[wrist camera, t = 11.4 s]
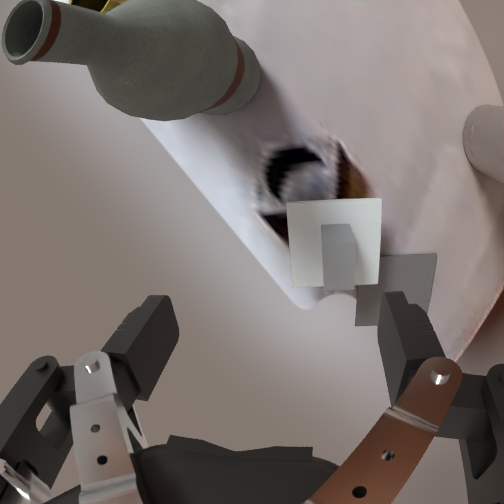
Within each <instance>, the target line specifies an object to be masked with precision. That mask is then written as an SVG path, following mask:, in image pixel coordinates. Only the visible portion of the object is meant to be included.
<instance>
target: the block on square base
mask: <svg viewBox="0 0 504 504" xmlns="http://www.w3.org/2000/svg"><path fill="white" fill-rule="evenodd" d="M286 210H287V222H288V234H289V247H290V260H291V274H292V288H293V287H322V286H324V291H336V290H354V286H355V285H367V284H378V274H379V259H380V239H381V198H363V199H335V200H313V201H293V202H286Z"/></svg>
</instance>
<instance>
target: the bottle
mask: <svg viewBox="0 0 504 504" xmlns="http://www.w3.org/2000/svg"><path fill="white" fill-rule="evenodd" d="M2 48H3V52H4V54H5V56H6V57H7V58H8V60H9V61H10V62H12V63H13V64H15V65H22V64H24V63H26V62H28V61H41V62H58V63H70V64H81V65H87V67H88V69H89V72H90V74H91V77H92V80H93V82H94V85H95V87H96V90H97V91H98V92H99V94H100V95H101V96H102V97H103V98H104V100H105V101H106V102H107V103H108V104H110V105H112V106H113V107H115V108H116V109H118V110H120V111H122V112H124V113H126V114H128V115H130V116H135V117H140V118H145V119H151V120H159V121H170V120H178V119H185V118H187V117H189V116H191V115H193V114H196V113H199V112H200V113H204V114H208V115H226V114H228V113H231V112H233V111H236V110H239V109H240V108H241V107H243V106H244V105H245V104H246V103H248V102H249V101H250V100H251V99H252V98H253V96H254V94H255V93H256V91H257V90H258V86H259V82H260V67H259V62H258V60H257V58H256V56H255V53H254V51H253V50H252V49H251V48H250V47H249V46H248V45H247V44H246V43H245V42H244V41H242V40H240V39H238V38H236V37H235V36H233V35H232V34H231V32H230V31H229V29H228V26H227V24H226V22H225V21H224V20H223V19H222V18H221V17H220V16H219V15H218V14H217V13H216V12H215V11H214V10H213V9H212V8H210V7H208V6H206V5H204V4H202V3H200V2H198V1H196V0H127V1H125V2H124V3H122V4H120V5H119V6H117V7H115V8H114V9H112V10H110V11H109V12H107V13H106V14H104V13H100V12H97V11H94V10H90V9H86V8H83V7H79V6H75V5H71V4H67V3H63V2H58V1H54V0H23V1H21V2H20V3H19V4H18V5H17V6H16V7H15V8H14V9H13V10H12V12H11V13H10V15H9V17H8V18H7V21H6V23H5V25H4V29H3V33H2Z"/></svg>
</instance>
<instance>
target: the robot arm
mask: <svg viewBox="0 0 504 504" xmlns="http://www.w3.org/2000/svg"><path fill="white" fill-rule="evenodd" d="M463 142H464V148H465V152H466V155H467V157H468V159H469V161H470V162H471V164H472V165H473V166H474V167H475V168H476V169H477V170H478V171H479V172H481V173H483V174H485V175H487V176H489V177H491V178H493V179H495V180H497V181H499V182H501V183H503V184H504V107H503V106H492V105H485V106H481V107H478V108H476V109H475V110H474V111H473V112H472V113H471V114H470V115H469V117H468V119H467V121H466V123H465V127H464V132H463ZM178 338H179V327H178V324H177V320H176V317H175V313H174V310H173V306H172V303H171V299H170V298H169V296H167V295H150V296H148V297H147V299H146V300H145V301H144V303H143V304H142V305H141V306H140V307H137V308H136V309H135V310H133V311H132V312H130V313H129V314H128V315H127V317H126V318H125V319H124V320H123V322H122V324H120V326H119V327H118V328H117V330H116V331H115V332H114V333H113V335H112V336H111V338H110V339H109V340H108V342H107V343H106V344H105V346H104V347H103V348H102V350H101V351H94V352H90V353H87V354H85V355H84V356H82V357H81V358H79V360H77V362H76V363H75V365H74V366H62V367H60V365H59V363H58V362H57V360H56V358H55V357H53V356H43V357H40V358H38V359H36V360H35V361H34V362H32V363H31V365H30V366H29V367H28V368H27V370H26V371H25V372H24V373H23V375H22V376H21V377H20V379H19V380H18V381H17V383H16V384H15V385H14V387H13V388H12V389H11V391H10V392H9V394H8V395H7V396H6V398H5V399H4V401H3V402H2V403H1V405H0V504H391V503H392V502H393V501H394V499H395V498H396V496H397V495H398V494H399V492H400V491H401V489H402V488H403V486H404V485H405V483H406V482H407V481H408V479H409V478H410V476H411V474H412V473H413V471H414V470H415V468H416V467H417V465H418V463H419V462H420V460H421V459H422V457H423V455H424V454H425V452H426V450H427V449H428V447H429V445H430V443H431V442H432V440H433V438H434V436H436V437H444V438H453V439H459V444H460V450H461V455H462V460H463V467H464V472H465V479H466V486H467V495H468V503H469V504H504V364H498V365H495V366H493V367H492V368H491V369H490V370H489V371H488V374H487V375H486V376H481V375H472V374H465V373H462V370H461V368H460V366H459V365H458V364H457V363H456V362H455V361H453V360H451V359H449V358H446V356H445V354H444V352H443V349H442V347H441V345H440V342H439V340H438V338H437V335H436V333H435V331H433V327H432V324H431V323H430V320H429V318H428V316H427V314H426V311H424V310H423V309H422V308H421V307H420V306H419V305H417V304H409V303H408V301H407V299H406V296H405V294H404V292H403V291H391V292H383V293H382V296H381V305H380V313H379V321H378V343H379V348H380V353H381V357H382V362H383V366H384V371H385V376H386V381H387V386H388V391H389V397H390V402H391V408H390V407H389V408H388V409H387V410H386V411H385V412H384V413H383V414H382V416H381V417H380V418H379V420H378V421H377V422H376V424H375V425H374V426H373V427H372V429H371V430H370V431H369V433H368V434H367V435H366V436H365V438H364V439H363V440H362V441H361V442H360V444H359V445H358V446H357V447H356V448H355V450H354V451H353V452H352V453H351V455H349V457H348V458H347V459H346V460H345V461H344V462H343V464H342V465H341V466H338V465H336V464H334V463H332V462H330V461H327V460H324V459H321V458H317V457H313V456H312V450H313V447H281V446H279V447H278V446H275V447H269V448H262V449H255V450H247V451H232V450H229V449H226V448H223V447H220V446H217V445H215V444H212V443H208V442H206V441H204V440H199V439H192V438H186V437H179V436H174V435H170V437H169V439H168V442H167V444H162V445H155V446H152V447H149V446H148V444H147V442H146V439H145V436H144V433H143V430H142V427H141V424H140V421H139V418H138V415H137V412H136V409H135V407H134V405H133V403H134V401H135V400H136V399H138V400H144V401H148V399H149V397H150V395H151V393H152V391H153V389H154V387H155V385H156V383H157V381H158V379H159V377H160V375H161V373H162V371H163V369H164V367H165V365H166V363H167V362H168V360H169V358H170V355H171V354H172V352H173V350H174V348H175V346H176V344H177V342H178ZM46 403H47V405H48V406H49V407H50V408H51V410H52V412H51V414H50V415H49V417H48V419H47V420H46V422H45V424H44V425H43V427H42V429H41V430H40V432H39V431H38V429H37V427H36V418H37V416H38V414H39V413H40V411H41V410H42V408H43V406H44V405H45V404H46ZM73 443H74V450H75V457H76V463H77V469H78V474H79V480H80V485H78V486H76V487H74V488H72V489H70V490H68V491H67V492H64V493H63V494H61V495H59V496H57V497H55V498H53V499H50V497H51V494H50V490H51V488H52V486H53V484H54V481H55V479H56V477H57V475H58V473H59V471H60V469H61V467H62V465H63V463H64V461H65V459H66V457H67V455H68V453H69V451H70V449H71V447H72V445H73Z"/></svg>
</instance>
